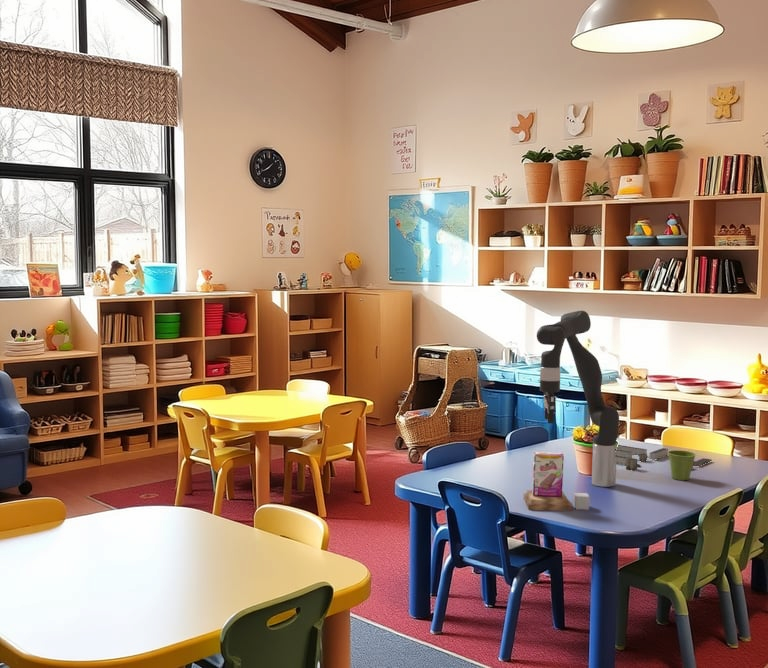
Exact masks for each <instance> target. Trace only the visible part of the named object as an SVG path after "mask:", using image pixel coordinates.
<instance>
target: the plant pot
mask: <svg viewBox="0 0 768 668" xmlns="http://www.w3.org/2000/svg"><path fill="white" fill-rule="evenodd" d="M667 453H668V459H669V462H670V463H669V464H670V465H669V466H670V472H671V473H670V474H671V478H672V479H674V480H676V479H678V480H677V481H688V479H689V480H690V477H691V472H692V470H693V469H692V464H693V461H695V459H696V458H695V457H696V456H697V453H695V452H693V451H689V450H679V449H672V450H668V452H667Z"/></svg>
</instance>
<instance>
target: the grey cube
mask: <svg viewBox="0 0 768 668" xmlns="http://www.w3.org/2000/svg"><path fill="white" fill-rule="evenodd" d="M590 498H591V497H590V495H589V494H588V492H573V505H574V506H573V507H574V509H575V508H576V510H590Z"/></svg>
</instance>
